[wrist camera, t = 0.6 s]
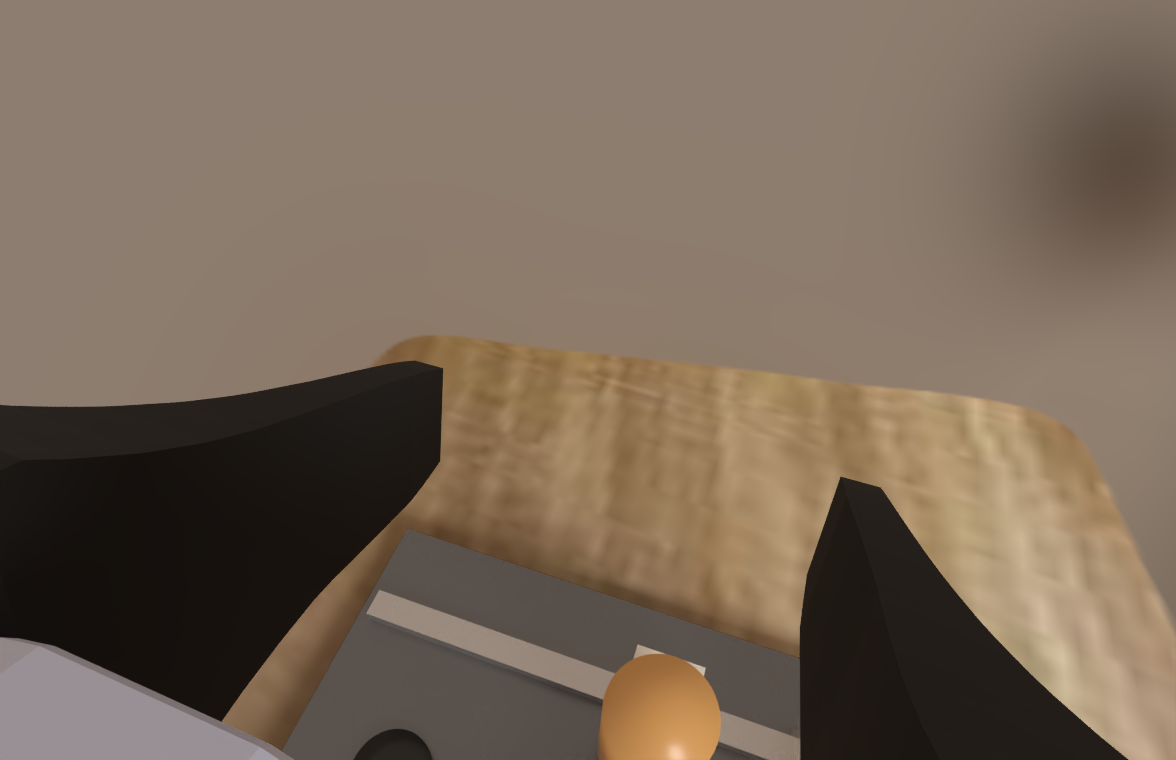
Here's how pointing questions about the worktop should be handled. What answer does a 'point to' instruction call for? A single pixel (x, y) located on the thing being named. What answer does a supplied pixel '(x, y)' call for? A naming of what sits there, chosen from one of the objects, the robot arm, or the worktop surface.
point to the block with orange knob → (658, 711)
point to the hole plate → (518, 668)
